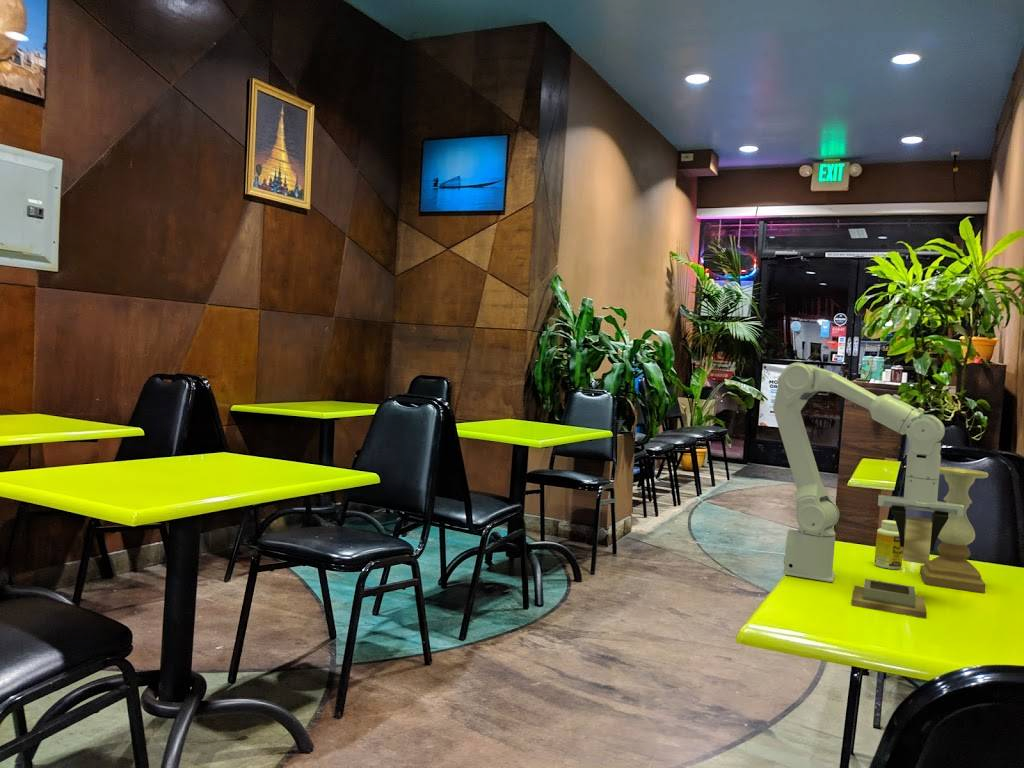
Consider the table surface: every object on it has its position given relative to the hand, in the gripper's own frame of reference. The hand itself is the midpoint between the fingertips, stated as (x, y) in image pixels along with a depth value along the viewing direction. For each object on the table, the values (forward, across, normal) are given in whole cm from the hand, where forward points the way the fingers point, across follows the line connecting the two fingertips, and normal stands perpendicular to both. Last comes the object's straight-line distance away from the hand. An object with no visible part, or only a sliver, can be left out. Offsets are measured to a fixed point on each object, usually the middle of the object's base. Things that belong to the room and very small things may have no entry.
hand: (916, 547), depth 152 cm
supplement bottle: (+10, -4, +26) cm, 28 cm away
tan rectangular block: (+2, 0, 0) cm, 2 cm away
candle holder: (+10, +8, +18) cm, 22 cm away
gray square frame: (+9, -4, -9) cm, 14 cm away
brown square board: (+9, -4, -9) cm, 14 cm away
